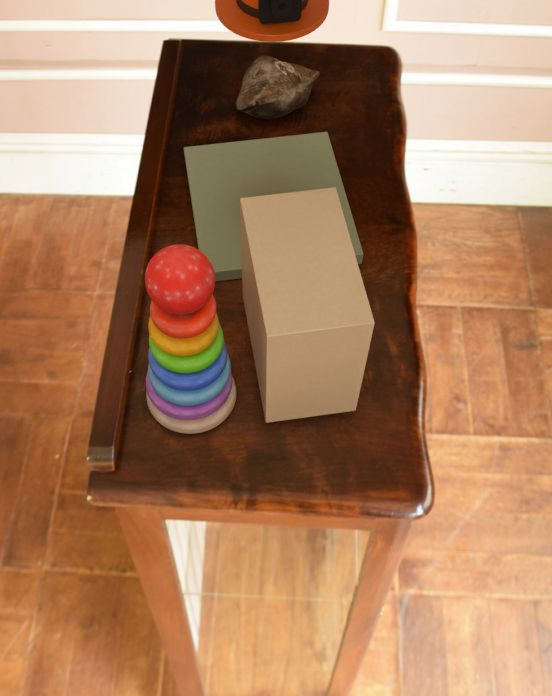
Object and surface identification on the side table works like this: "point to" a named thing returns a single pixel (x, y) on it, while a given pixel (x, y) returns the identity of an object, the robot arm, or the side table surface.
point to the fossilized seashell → (274, 88)
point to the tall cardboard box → (303, 304)
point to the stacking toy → (186, 343)
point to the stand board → (255, 188)
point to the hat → (242, 19)
